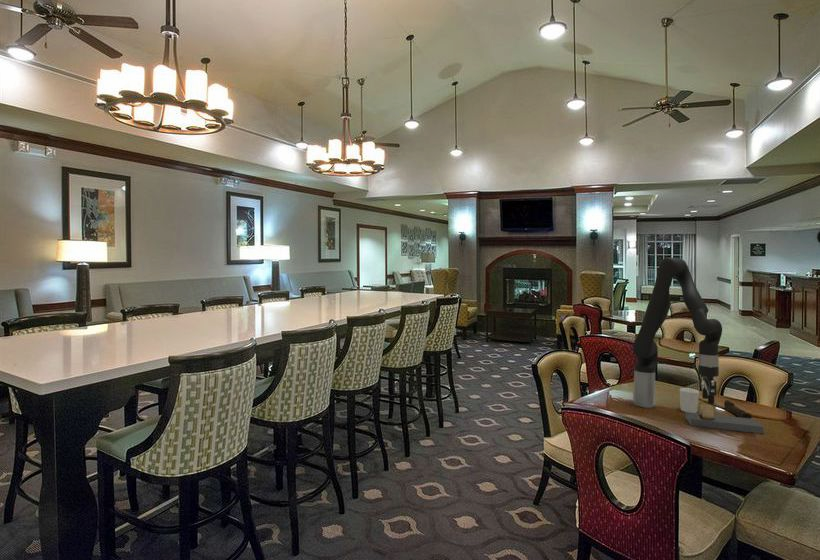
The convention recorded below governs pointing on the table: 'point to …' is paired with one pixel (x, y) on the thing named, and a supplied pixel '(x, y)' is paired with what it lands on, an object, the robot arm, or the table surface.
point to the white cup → (689, 400)
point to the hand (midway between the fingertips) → (708, 401)
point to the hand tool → (736, 410)
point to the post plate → (725, 423)
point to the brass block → (706, 412)
